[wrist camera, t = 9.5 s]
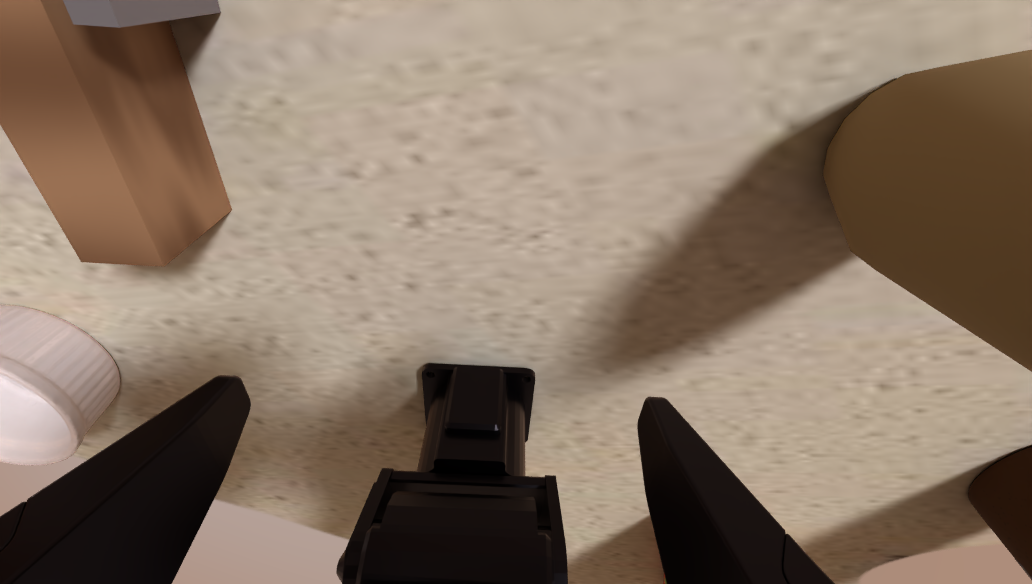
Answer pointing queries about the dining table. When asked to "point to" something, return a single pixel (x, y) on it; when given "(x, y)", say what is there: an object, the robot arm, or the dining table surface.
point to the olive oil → (1008, 504)
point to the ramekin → (49, 386)
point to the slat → (108, 133)
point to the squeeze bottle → (946, 192)
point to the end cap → (135, 11)
